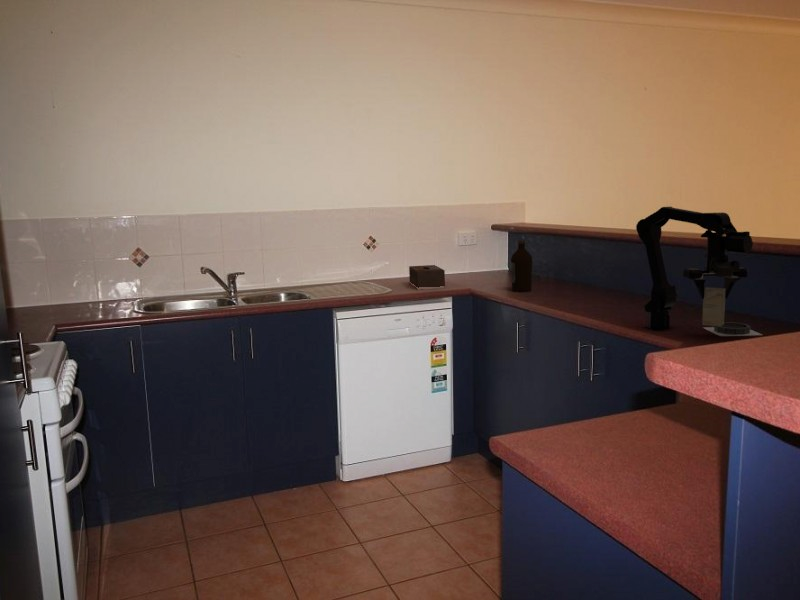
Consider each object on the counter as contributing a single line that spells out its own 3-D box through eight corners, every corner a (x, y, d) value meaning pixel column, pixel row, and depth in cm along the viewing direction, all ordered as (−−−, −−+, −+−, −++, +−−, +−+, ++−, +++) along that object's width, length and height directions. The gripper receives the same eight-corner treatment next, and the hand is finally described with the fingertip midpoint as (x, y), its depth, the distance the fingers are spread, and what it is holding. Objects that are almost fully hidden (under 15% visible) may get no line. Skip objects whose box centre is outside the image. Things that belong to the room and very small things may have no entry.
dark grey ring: (723, 335, 221) (723, 329, 221) (708, 328, 232) (709, 322, 232) (755, 334, 221) (756, 328, 221) (740, 327, 232) (740, 321, 231)
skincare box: (701, 325, 220) (702, 289, 218) (704, 322, 224) (705, 287, 221) (722, 326, 216) (723, 289, 214) (724, 323, 220) (725, 287, 218)
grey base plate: (720, 337, 220) (720, 336, 220) (702, 328, 234) (702, 327, 234) (763, 336, 219) (763, 334, 219) (742, 327, 233) (742, 326, 233)
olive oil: (531, 288, 337) (530, 239, 333) (533, 292, 327) (533, 241, 323) (510, 289, 338) (509, 240, 334) (512, 292, 327) (511, 242, 323)
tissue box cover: (444, 289, 349) (444, 270, 347) (418, 290, 347) (417, 271, 345) (434, 282, 374) (434, 265, 372) (409, 284, 372) (409, 266, 370)
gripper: (697, 254, 208) (695, 303, 211) (757, 253, 208) (755, 302, 210) (683, 251, 219) (681, 298, 222) (741, 249, 219) (738, 296, 221)
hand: (714, 298), depth 219 cm, fingers closed on skincare box, 7 cm apart
